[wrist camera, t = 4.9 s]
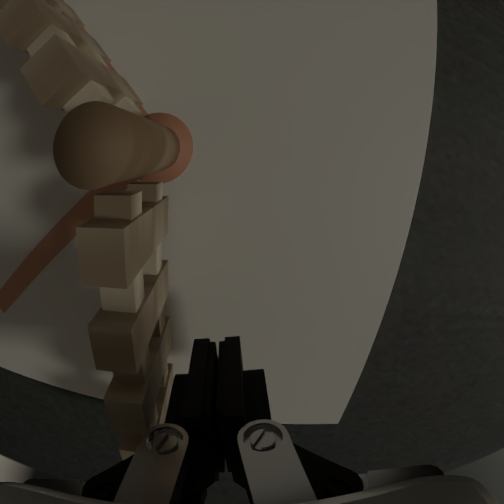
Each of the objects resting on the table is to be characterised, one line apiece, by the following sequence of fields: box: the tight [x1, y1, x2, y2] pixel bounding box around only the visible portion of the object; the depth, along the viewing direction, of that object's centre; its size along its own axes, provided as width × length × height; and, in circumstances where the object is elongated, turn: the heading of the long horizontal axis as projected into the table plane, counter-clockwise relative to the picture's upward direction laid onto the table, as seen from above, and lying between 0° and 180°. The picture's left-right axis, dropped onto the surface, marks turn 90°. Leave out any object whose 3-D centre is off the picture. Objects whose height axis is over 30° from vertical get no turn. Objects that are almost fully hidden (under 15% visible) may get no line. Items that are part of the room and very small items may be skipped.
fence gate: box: [76, 181, 174, 460], centre depth 10 cm, size 12×2×6 cm, turn 176°
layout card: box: [0, 0, 437, 424], centre depth 12 cm, size 25×23×1 cm
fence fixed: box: [0, 0, 180, 190], centre depth 7 cm, size 14×2×6 cm, turn 35°
